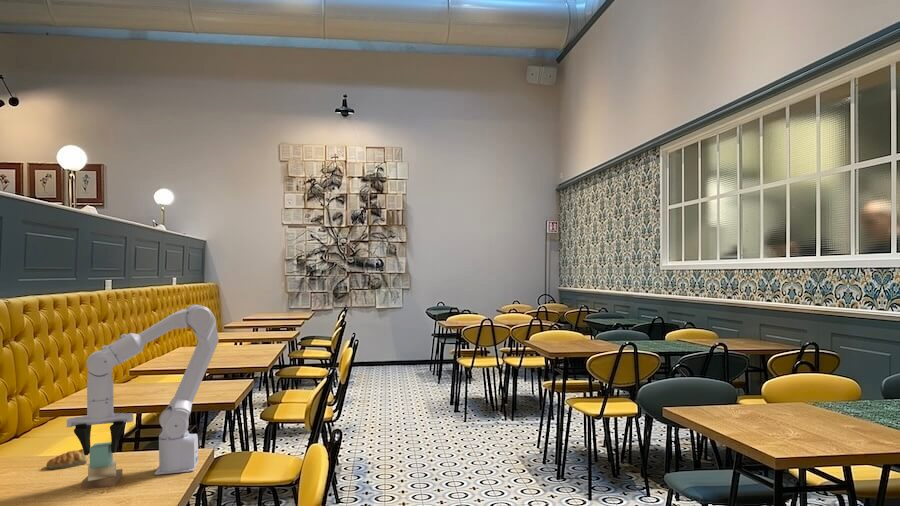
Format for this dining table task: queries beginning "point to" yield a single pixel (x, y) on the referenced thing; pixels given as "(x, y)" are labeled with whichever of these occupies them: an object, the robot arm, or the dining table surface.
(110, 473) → the tower top
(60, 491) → the dining table surface
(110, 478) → the tower base
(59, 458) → the pastry
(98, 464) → the teal block
